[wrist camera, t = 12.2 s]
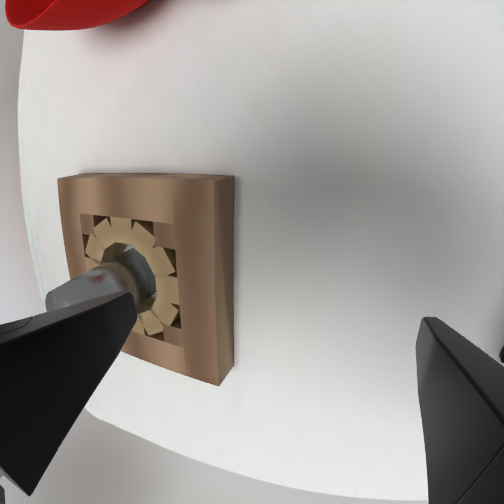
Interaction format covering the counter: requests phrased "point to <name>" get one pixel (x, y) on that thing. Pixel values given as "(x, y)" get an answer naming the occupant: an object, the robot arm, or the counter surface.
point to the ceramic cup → (67, 13)
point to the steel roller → (107, 282)
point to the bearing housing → (163, 259)
